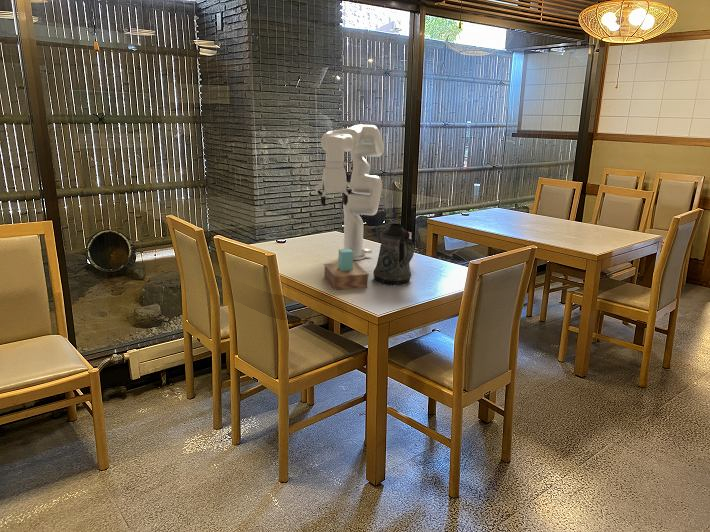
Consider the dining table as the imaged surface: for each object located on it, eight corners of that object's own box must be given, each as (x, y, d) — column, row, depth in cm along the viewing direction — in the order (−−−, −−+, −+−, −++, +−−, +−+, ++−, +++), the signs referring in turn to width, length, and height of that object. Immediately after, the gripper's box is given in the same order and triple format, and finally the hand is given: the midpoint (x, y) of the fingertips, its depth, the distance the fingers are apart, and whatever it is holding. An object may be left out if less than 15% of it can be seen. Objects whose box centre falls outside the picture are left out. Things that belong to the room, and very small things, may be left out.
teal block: (349, 266, 230) (350, 248, 228) (352, 270, 225) (353, 251, 223) (338, 267, 228) (338, 249, 226) (341, 270, 224) (341, 252, 222)
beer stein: (382, 272, 244) (385, 218, 237) (422, 279, 236) (426, 224, 229) (366, 281, 230) (368, 225, 223) (408, 289, 222) (412, 230, 215)
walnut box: (355, 275, 239) (355, 262, 237) (368, 287, 222) (368, 274, 220) (323, 276, 235) (323, 263, 233) (334, 290, 218) (334, 276, 216)
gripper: (351, 163, 233) (350, 202, 238) (312, 164, 227) (312, 204, 233) (356, 166, 226) (355, 205, 231) (317, 167, 220) (317, 207, 226)
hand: (334, 204), depth 232 cm, fingers open, 9 cm apart
